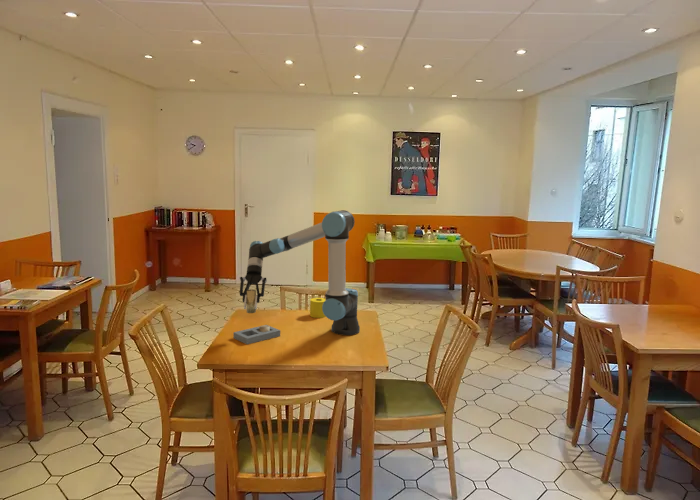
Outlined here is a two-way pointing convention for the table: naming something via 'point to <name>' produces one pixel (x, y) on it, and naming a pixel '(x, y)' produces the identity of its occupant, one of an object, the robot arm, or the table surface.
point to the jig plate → (255, 335)
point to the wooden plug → (264, 328)
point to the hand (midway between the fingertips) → (250, 307)
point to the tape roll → (317, 307)
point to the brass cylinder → (251, 301)
